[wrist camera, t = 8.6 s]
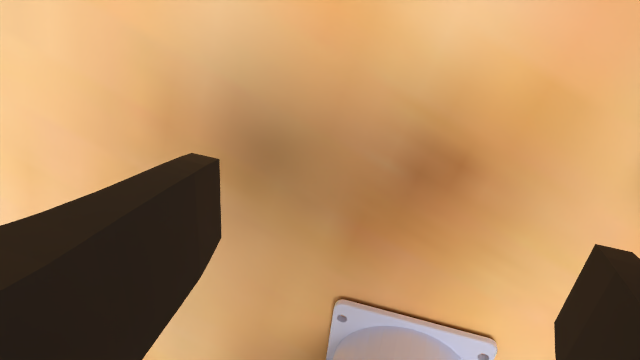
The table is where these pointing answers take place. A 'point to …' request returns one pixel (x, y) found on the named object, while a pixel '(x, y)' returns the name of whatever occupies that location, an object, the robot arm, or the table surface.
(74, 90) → the table surface
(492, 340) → the robot arm
